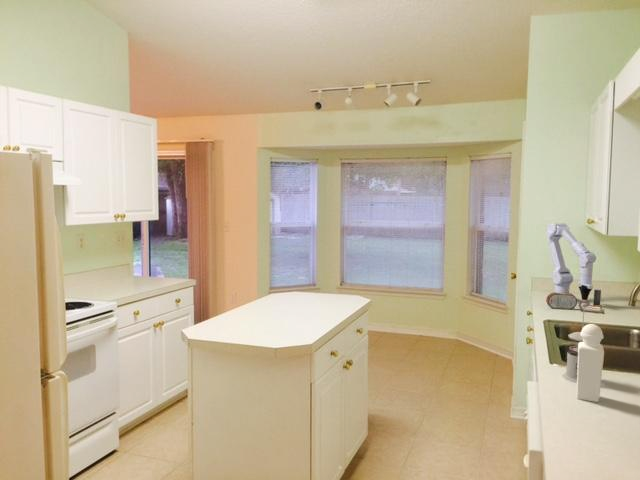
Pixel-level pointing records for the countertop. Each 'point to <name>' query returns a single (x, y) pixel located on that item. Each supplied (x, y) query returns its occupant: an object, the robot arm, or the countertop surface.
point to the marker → (597, 298)
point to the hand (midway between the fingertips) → (584, 299)
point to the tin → (561, 300)
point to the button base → (584, 302)
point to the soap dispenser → (590, 363)
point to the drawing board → (591, 309)
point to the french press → (573, 359)
